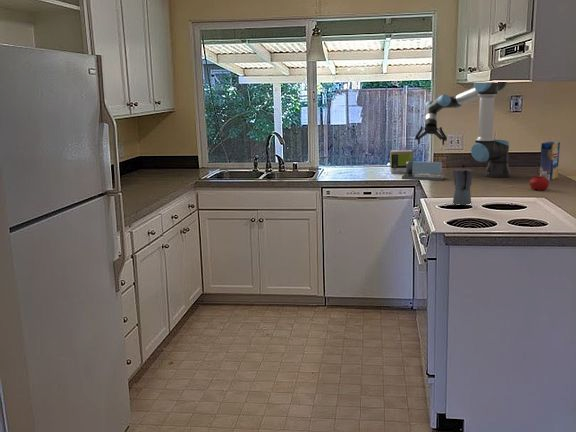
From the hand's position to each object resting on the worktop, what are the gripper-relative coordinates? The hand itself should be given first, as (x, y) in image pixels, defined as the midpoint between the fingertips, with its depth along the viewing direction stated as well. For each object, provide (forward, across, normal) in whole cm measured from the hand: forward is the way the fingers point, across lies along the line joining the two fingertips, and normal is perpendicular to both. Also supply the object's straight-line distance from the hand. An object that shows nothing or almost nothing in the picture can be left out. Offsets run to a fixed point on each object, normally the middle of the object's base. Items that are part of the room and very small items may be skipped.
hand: (430, 148), depth 395 cm
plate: (+24, +5, 0) cm, 24 cm away
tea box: (+6, +17, -21) cm, 28 cm away
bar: (+19, +5, 0) cm, 20 cm away
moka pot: (+79, -7, +67) cm, 104 cm away
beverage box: (+21, -70, +4) cm, 74 cm away
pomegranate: (+48, -54, +34) cm, 80 cm away
